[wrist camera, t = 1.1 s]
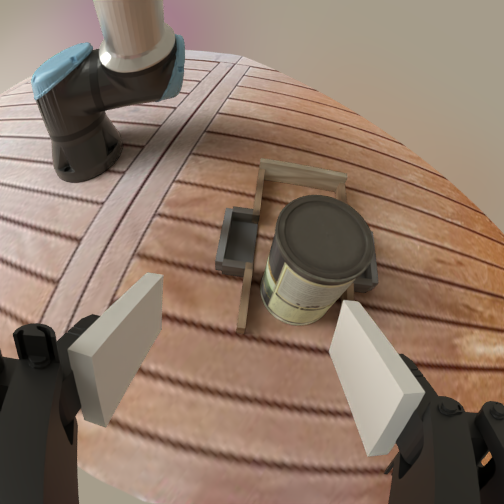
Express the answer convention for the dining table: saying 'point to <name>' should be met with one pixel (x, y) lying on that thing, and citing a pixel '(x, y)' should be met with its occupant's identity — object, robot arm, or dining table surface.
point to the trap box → (246, 222)
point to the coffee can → (314, 258)
